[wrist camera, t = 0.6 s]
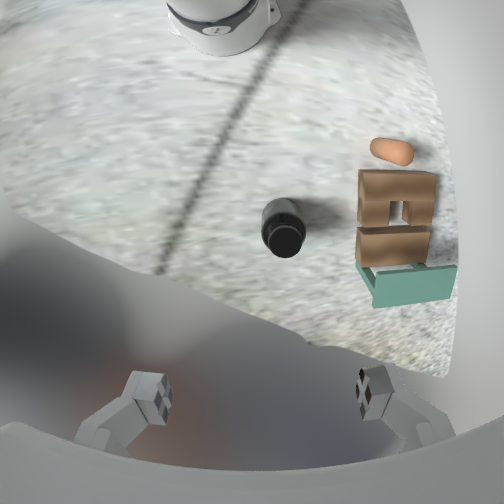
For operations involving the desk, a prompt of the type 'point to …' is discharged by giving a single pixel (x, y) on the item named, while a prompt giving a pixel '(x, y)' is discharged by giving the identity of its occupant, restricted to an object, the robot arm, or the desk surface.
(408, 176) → the socket block
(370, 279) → the teal u-shaped bracket
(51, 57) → the desk surface
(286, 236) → the supplement bottle
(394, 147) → the peg
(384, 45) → the desk surface
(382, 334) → the desk surface
